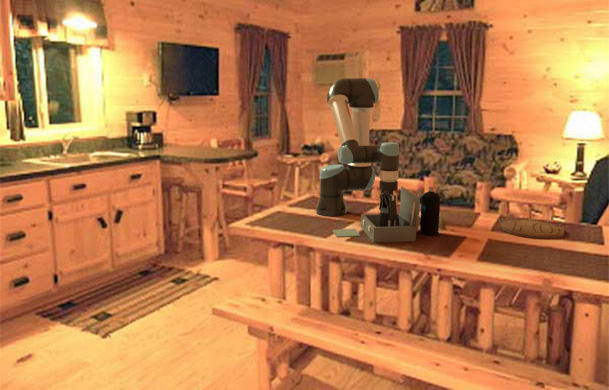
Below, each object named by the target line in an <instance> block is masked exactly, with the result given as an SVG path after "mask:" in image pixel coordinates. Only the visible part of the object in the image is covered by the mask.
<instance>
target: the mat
mask: <svg viewBox="0 0 609 390" xmlns="http://www.w3.org/2000/svg"><path fill="white" fill-rule="evenodd" d="M332 233H333V235H334V236H335V237H336V238H351V237H353V238H354V237H361V234H360V233H359V232H358V231H357V229H356V228H345V229H342V228H341V229H332Z"/></svg>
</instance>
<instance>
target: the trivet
mask: <svg viewBox="0 0 609 390" xmlns="http://www.w3.org/2000/svg"><path fill="white" fill-rule="evenodd" d="M500 229H501V231H503V232H504V233H506V234H508V235H511V236H515V237H519V238H525V239H526V238H527V239H533V240H554V239H555V240H557V239H561V238H563V237H564V236H565V229H564V228H563V226H562V227H561V226H560V225H557V224H554V223H550V222H545V221H541V220H540V221H539V220H530V219H514V220H511V219H510V220H506V221H503V222H502V223H501V224H500Z"/></svg>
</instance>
